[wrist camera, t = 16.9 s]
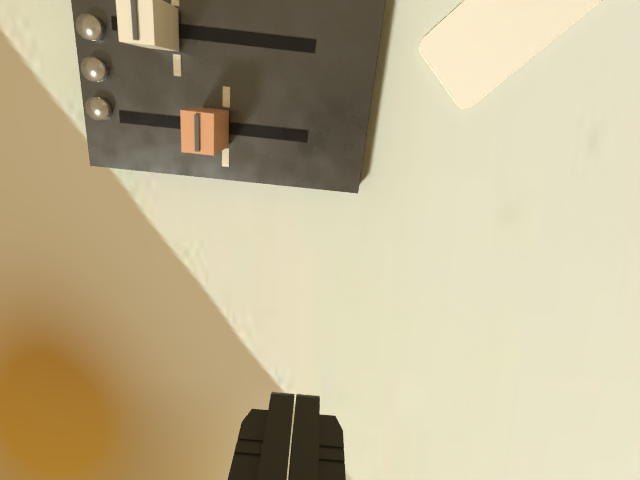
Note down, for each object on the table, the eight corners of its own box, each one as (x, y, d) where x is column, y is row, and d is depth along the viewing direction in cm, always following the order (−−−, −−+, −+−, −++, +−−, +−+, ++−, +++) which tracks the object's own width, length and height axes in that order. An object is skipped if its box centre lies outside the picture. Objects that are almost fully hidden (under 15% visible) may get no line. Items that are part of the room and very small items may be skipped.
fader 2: (200, 107, 32) (179, 110, 27) (229, 110, 32) (213, 113, 28) (200, 143, 33) (180, 152, 29) (228, 146, 33) (213, 156, 29)
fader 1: (146, 4, 29) (113, -11, 25) (178, 8, 30) (150, -7, 25) (148, 48, 31) (117, 41, 26) (179, 51, 31) (153, 45, 26)
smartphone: (414, 44, 32) (581, -107, 28) (412, 45, 33) (575, -102, 29) (463, 113, 34) (626, -19, 30) (461, 113, 35) (619, -17, 31)
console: (81, -42, 30) (58, -54, 28) (383, -6, 31) (388, -15, 28) (102, 161, 36) (85, 167, 34) (356, 187, 37) (358, 195, 34)
